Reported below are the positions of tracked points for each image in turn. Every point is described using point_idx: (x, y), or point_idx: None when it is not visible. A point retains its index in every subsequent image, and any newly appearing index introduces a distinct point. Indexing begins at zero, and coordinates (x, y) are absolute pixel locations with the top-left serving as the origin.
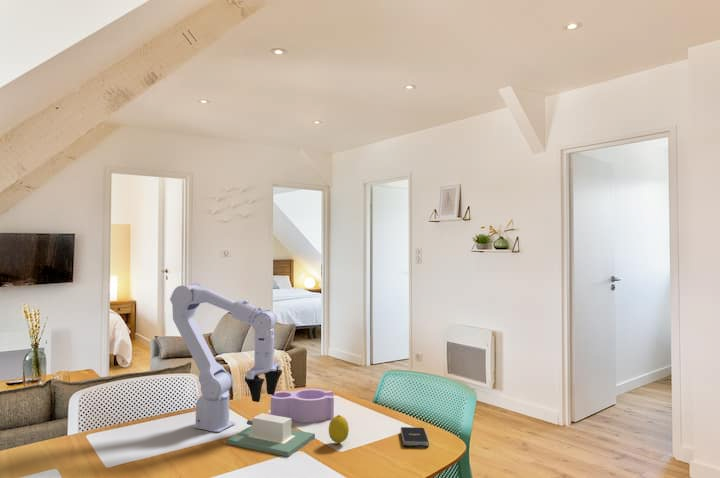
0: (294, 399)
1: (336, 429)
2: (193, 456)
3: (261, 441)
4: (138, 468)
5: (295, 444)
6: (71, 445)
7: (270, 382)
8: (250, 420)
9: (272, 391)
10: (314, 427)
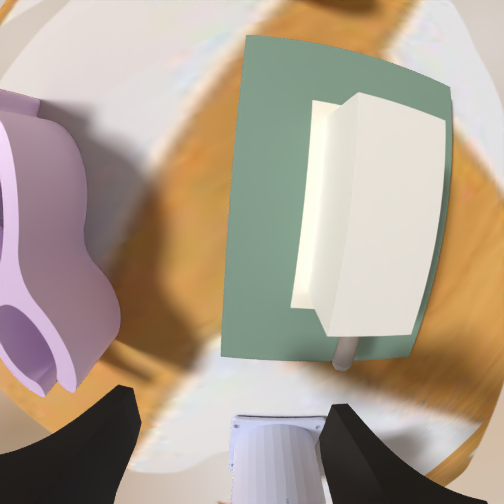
0: (23, 261)
1: None
2: (470, 358)
3: None
4: (495, 391)
5: (391, 75)
6: None
7: (100, 478)
8: (346, 356)
9: (124, 410)
10: (127, 102)
